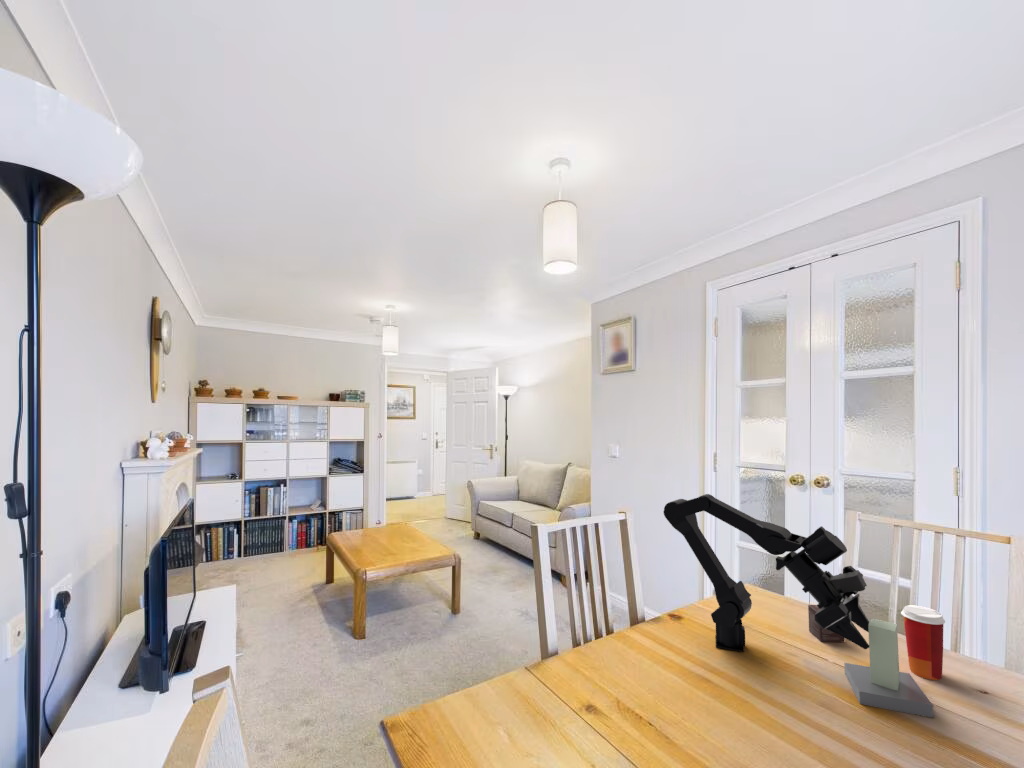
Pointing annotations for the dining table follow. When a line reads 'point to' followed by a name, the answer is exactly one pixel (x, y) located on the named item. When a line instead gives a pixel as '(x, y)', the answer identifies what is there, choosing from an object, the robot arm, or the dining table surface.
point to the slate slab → (888, 692)
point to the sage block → (884, 654)
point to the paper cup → (924, 641)
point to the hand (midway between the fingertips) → (870, 640)
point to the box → (817, 631)
